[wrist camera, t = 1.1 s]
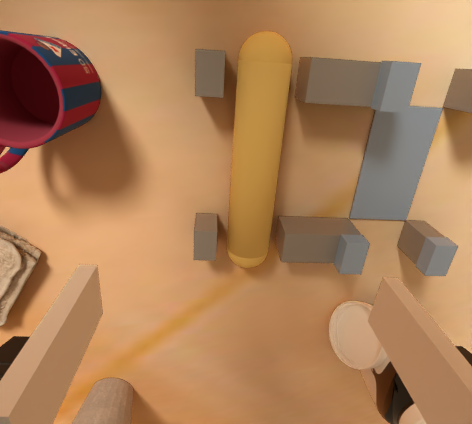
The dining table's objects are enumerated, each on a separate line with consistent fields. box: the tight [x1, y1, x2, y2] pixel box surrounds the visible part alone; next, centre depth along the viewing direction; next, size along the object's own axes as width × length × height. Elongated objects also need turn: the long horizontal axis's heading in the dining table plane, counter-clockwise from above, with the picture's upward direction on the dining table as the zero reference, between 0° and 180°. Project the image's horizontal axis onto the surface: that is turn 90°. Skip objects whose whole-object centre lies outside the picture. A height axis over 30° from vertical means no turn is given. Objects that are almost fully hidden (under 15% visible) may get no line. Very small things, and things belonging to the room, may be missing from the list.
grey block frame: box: [194, 49, 472, 276], centre depth 27 cm, size 17×23×5 cm
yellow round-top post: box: [227, 31, 292, 268], centre depth 27 cm, size 20×4×4 cm, turn 176°
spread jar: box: [329, 301, 426, 424], centre depth 33 cm, size 12×11×12 cm
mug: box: [0, 31, 101, 173], centre depth 23 cm, size 7×10×7 cm
